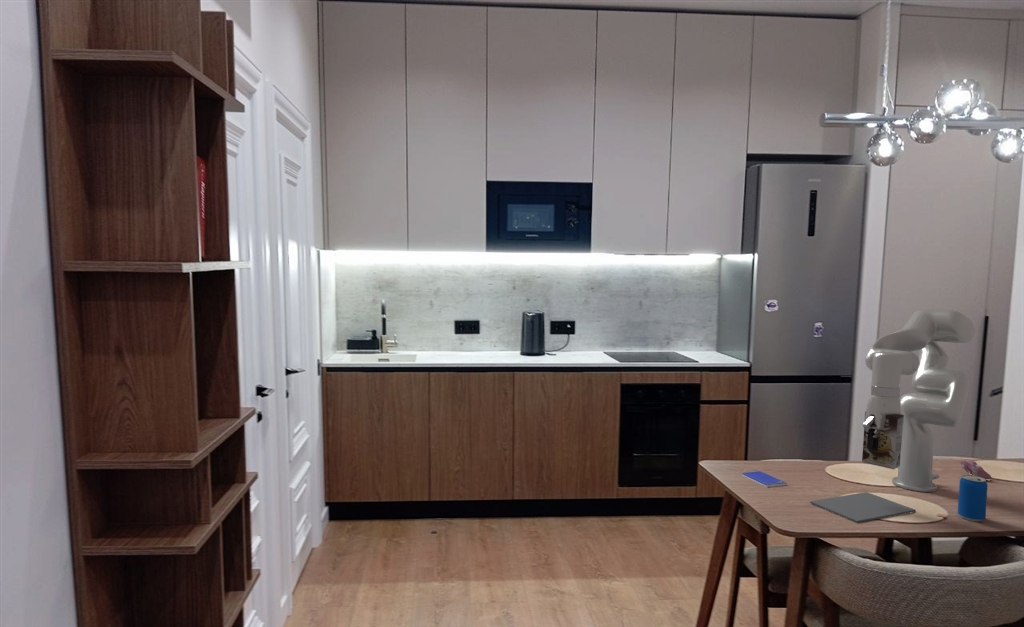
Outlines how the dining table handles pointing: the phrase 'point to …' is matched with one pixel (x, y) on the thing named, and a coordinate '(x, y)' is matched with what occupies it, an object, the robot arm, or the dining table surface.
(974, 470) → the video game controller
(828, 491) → the dining table surface
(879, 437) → the coffee box
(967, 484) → the beverage can
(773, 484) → the hard drive
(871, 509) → the gray mat
